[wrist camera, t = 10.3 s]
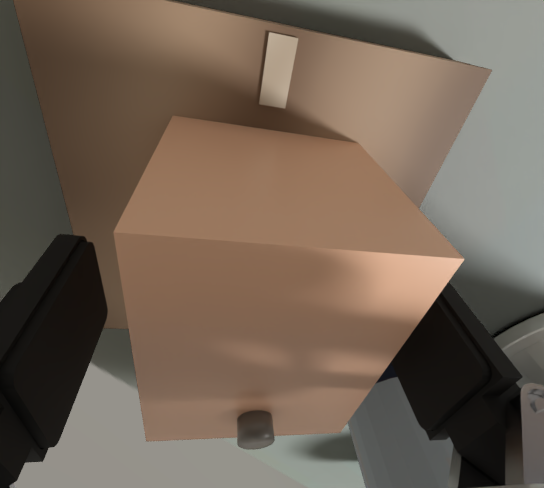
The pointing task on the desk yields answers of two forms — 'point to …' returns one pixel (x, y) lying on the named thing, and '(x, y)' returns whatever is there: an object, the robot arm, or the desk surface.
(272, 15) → the desk surface
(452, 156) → the desk surface
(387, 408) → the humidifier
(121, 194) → the stand
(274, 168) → the light orange block
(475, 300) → the desk surface
